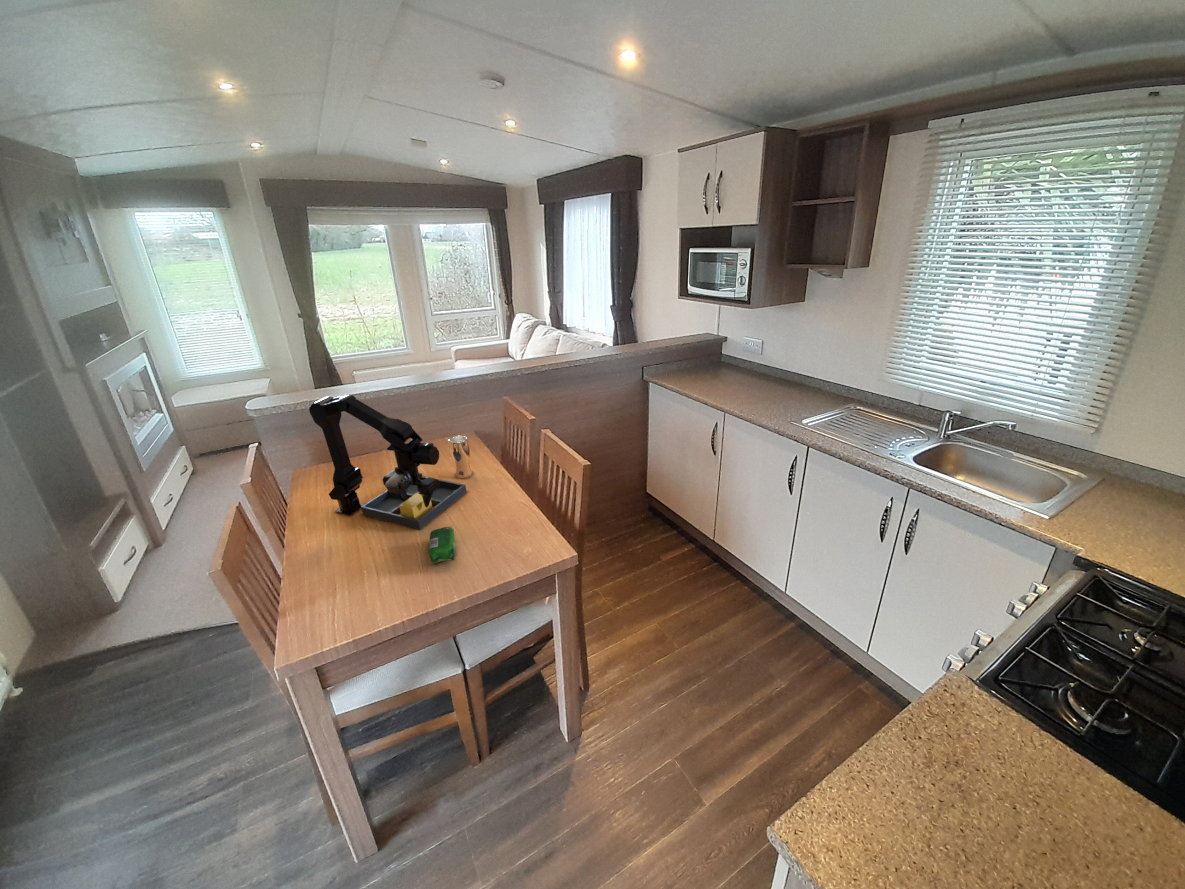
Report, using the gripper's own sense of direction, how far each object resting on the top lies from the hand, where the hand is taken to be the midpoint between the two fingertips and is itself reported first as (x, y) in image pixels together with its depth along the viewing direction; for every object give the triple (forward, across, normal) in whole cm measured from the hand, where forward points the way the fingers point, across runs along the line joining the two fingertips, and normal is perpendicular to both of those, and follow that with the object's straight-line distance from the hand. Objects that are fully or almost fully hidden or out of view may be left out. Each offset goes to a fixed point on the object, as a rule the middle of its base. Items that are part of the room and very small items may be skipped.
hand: (415, 504), depth 156 cm
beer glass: (+4, -3, +29) cm, 29 cm away
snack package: (+4, +21, -13) cm, 25 cm away
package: (+4, 0, 0) cm, 4 cm away
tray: (+4, -6, +6) cm, 9 cm away
